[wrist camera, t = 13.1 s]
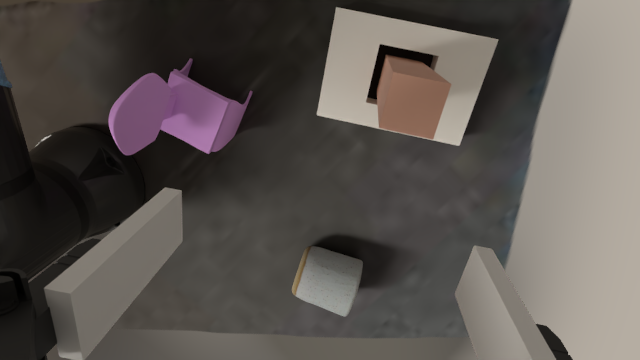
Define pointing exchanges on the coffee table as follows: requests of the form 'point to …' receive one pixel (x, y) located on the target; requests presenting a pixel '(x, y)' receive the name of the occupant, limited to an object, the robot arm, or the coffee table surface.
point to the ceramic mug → (328, 279)
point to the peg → (410, 97)
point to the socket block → (446, 45)
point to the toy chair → (174, 113)
